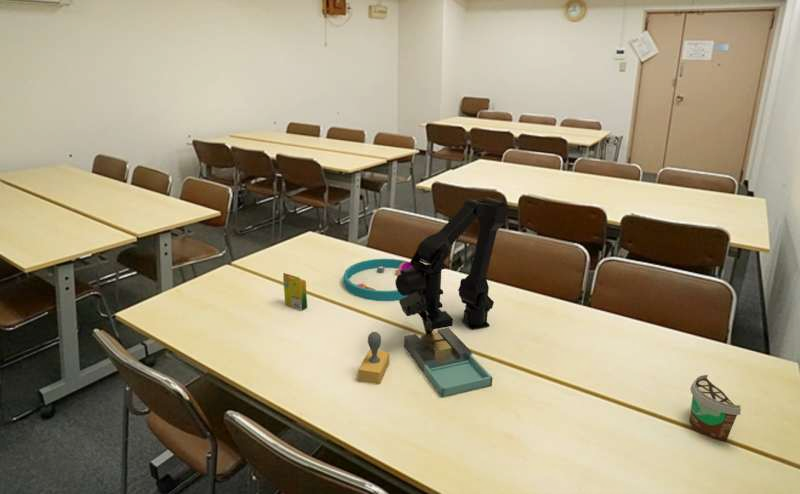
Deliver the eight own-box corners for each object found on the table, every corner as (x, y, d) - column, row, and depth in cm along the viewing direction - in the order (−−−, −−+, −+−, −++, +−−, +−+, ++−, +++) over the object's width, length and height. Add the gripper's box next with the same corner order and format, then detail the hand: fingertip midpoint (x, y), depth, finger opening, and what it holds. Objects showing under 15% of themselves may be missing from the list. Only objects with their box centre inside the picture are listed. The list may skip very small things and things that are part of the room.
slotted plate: (447, 338, 155) (448, 327, 154) (470, 363, 143) (471, 351, 142) (403, 346, 150) (404, 335, 149) (423, 373, 138) (424, 361, 137)
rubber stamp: (380, 385, 133) (380, 343, 129) (358, 381, 134) (357, 340, 130) (389, 363, 142) (390, 324, 138) (369, 360, 144) (368, 321, 139)
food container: (672, 409, 126) (680, 374, 122) (696, 408, 126) (706, 373, 123) (704, 446, 114) (714, 408, 111) (731, 444, 115) (742, 406, 111)
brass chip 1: (437, 338, 151) (437, 331, 150) (443, 344, 148) (443, 338, 147) (421, 341, 149) (421, 334, 149) (426, 348, 146) (426, 341, 145)
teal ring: (443, 284, 192) (444, 269, 190) (385, 311, 172) (385, 294, 169) (385, 261, 211) (385, 248, 209) (327, 283, 191) (326, 268, 189)
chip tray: (470, 363, 143) (471, 355, 142) (491, 385, 134) (492, 377, 133) (423, 373, 138) (424, 365, 137) (442, 397, 129) (442, 389, 128)
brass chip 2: (445, 346, 147) (445, 340, 146) (451, 354, 143) (451, 347, 143) (428, 350, 145) (428, 343, 144) (434, 357, 142) (435, 351, 141)
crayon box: (307, 307, 172) (306, 275, 168) (301, 311, 169) (299, 278, 165) (291, 302, 175) (289, 269, 171) (284, 305, 173) (282, 272, 169)
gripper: (391, 276, 151) (390, 324, 156) (416, 304, 134) (414, 357, 140) (426, 271, 154) (425, 318, 160) (455, 298, 138) (452, 349, 144)
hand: (428, 334), depth 151 cm, fingers closed
